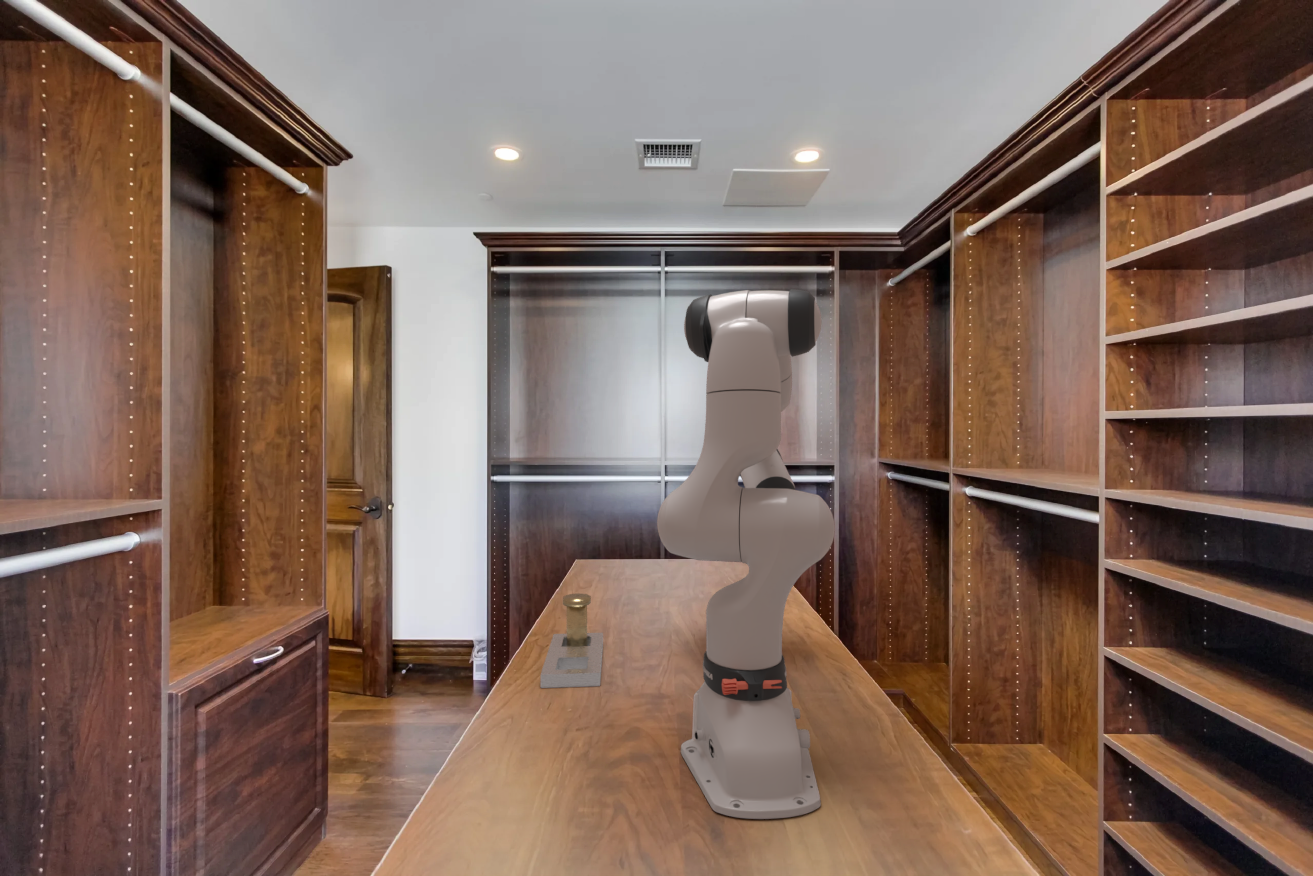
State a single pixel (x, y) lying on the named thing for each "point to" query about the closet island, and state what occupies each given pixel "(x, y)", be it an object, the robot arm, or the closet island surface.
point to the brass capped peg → (576, 618)
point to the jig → (573, 663)
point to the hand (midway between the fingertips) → (663, 523)
